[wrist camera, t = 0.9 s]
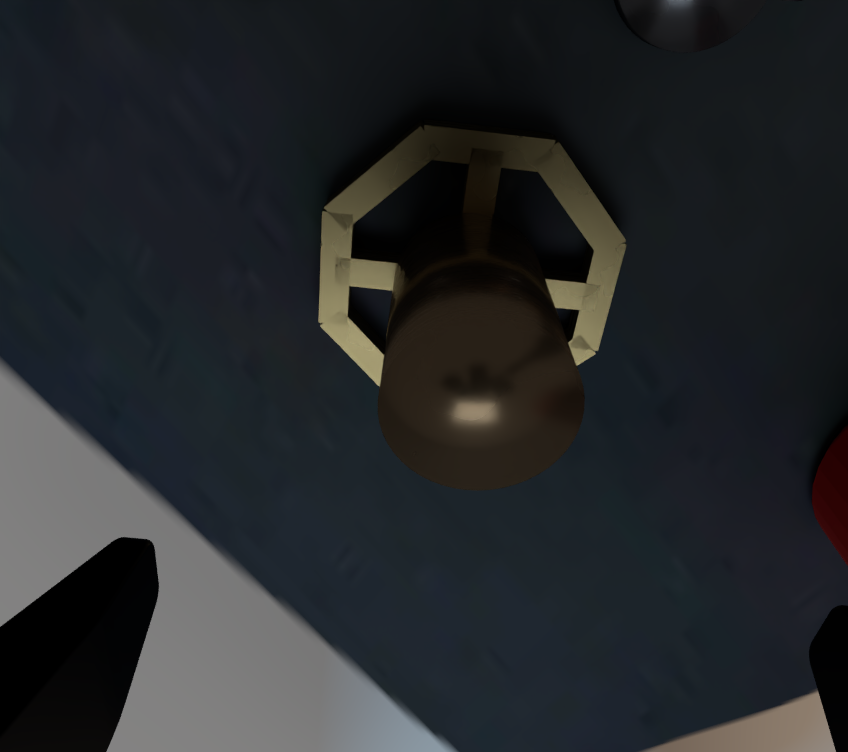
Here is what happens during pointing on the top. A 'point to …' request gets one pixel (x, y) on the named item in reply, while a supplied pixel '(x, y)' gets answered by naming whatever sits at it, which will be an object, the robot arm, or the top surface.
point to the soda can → (833, 493)
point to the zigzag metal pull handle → (687, 21)
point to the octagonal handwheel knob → (471, 309)
